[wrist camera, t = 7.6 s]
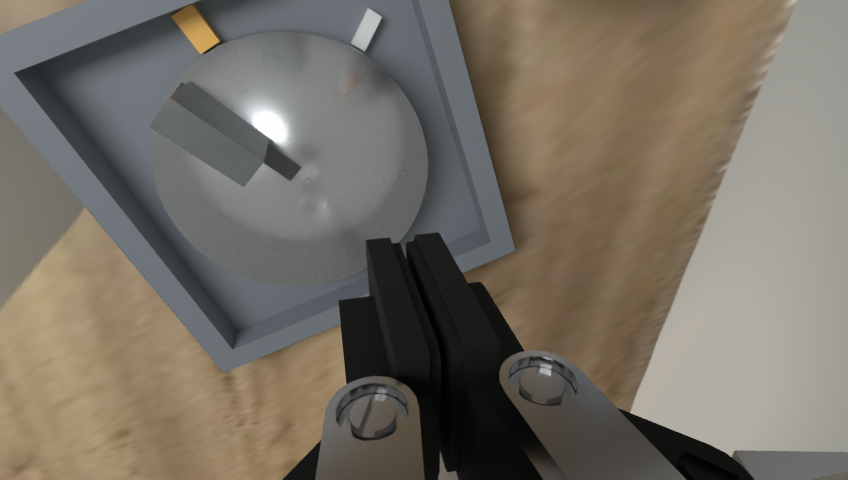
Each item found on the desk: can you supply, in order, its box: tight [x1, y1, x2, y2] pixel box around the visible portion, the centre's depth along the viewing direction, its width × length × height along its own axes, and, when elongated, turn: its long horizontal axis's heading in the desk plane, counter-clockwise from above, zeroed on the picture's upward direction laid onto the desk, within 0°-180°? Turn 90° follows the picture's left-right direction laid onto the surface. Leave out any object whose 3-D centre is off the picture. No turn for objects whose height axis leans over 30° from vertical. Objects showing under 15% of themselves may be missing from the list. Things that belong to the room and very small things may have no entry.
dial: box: [149, 29, 428, 286], centre depth 25 cm, size 15×15×6 cm
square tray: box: [0, 0, 515, 372], centre depth 28 cm, size 22×22×3 cm
